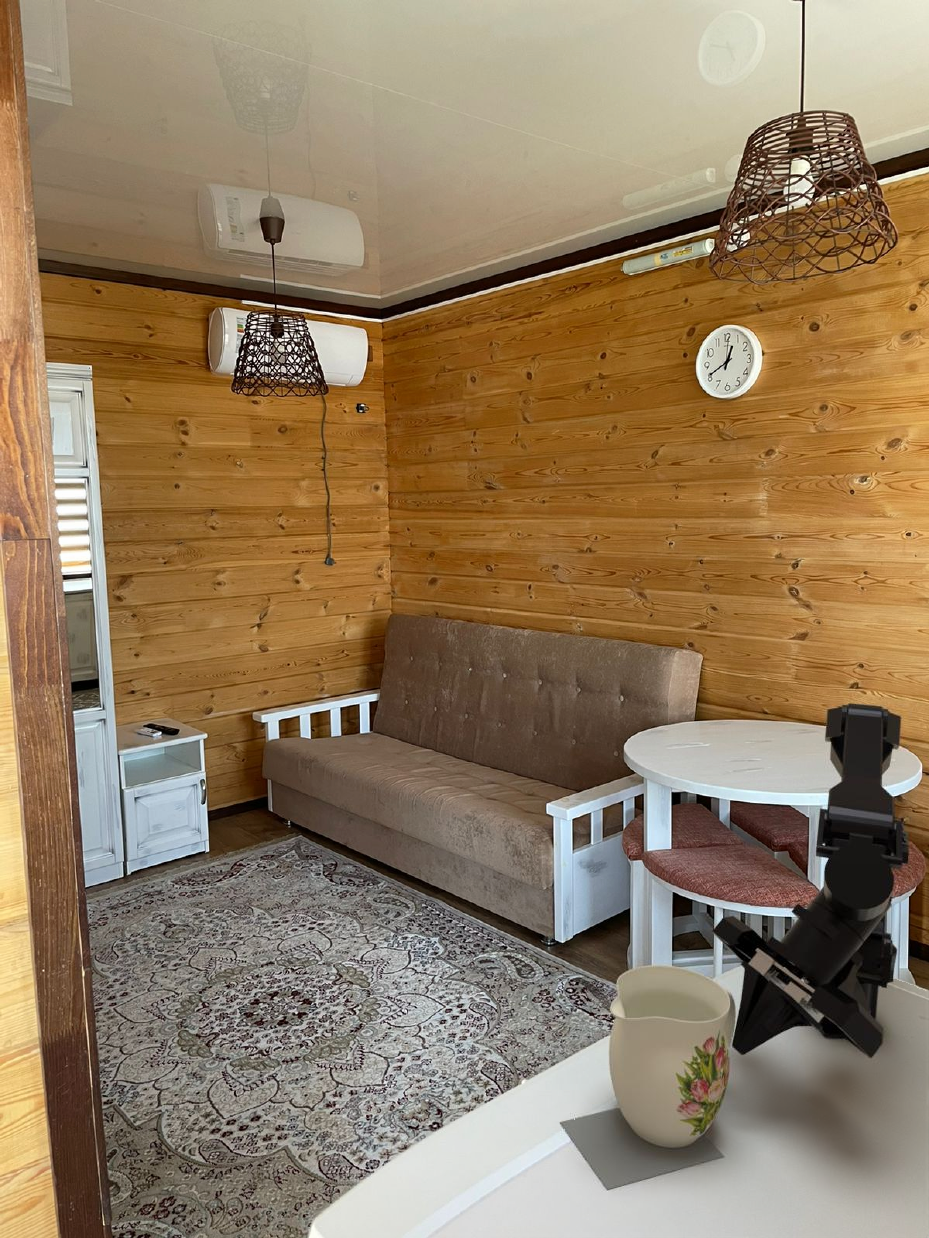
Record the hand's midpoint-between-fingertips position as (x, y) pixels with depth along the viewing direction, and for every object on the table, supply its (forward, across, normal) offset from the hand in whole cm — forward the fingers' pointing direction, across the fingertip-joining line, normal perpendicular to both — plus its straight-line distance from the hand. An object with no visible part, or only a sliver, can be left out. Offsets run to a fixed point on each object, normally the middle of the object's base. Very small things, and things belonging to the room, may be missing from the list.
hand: (736, 1050), depth 87 cm
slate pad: (+12, 0, +2) cm, 12 cm away
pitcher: (+9, +2, 0) cm, 9 cm away
